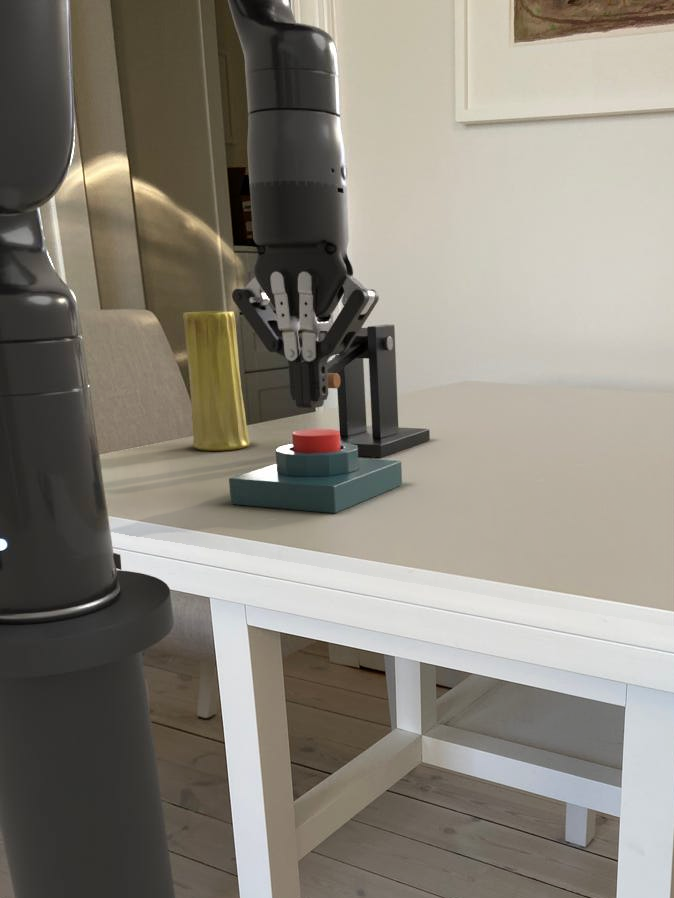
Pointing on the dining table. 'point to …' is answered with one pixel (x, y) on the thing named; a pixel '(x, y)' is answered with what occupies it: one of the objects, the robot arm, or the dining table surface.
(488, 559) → the dining table surface
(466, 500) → the dining table surface
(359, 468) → the control block
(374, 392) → the bracket
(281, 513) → the dining table surface
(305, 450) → the button
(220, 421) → the vase
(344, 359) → the lever
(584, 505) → the dining table surface
